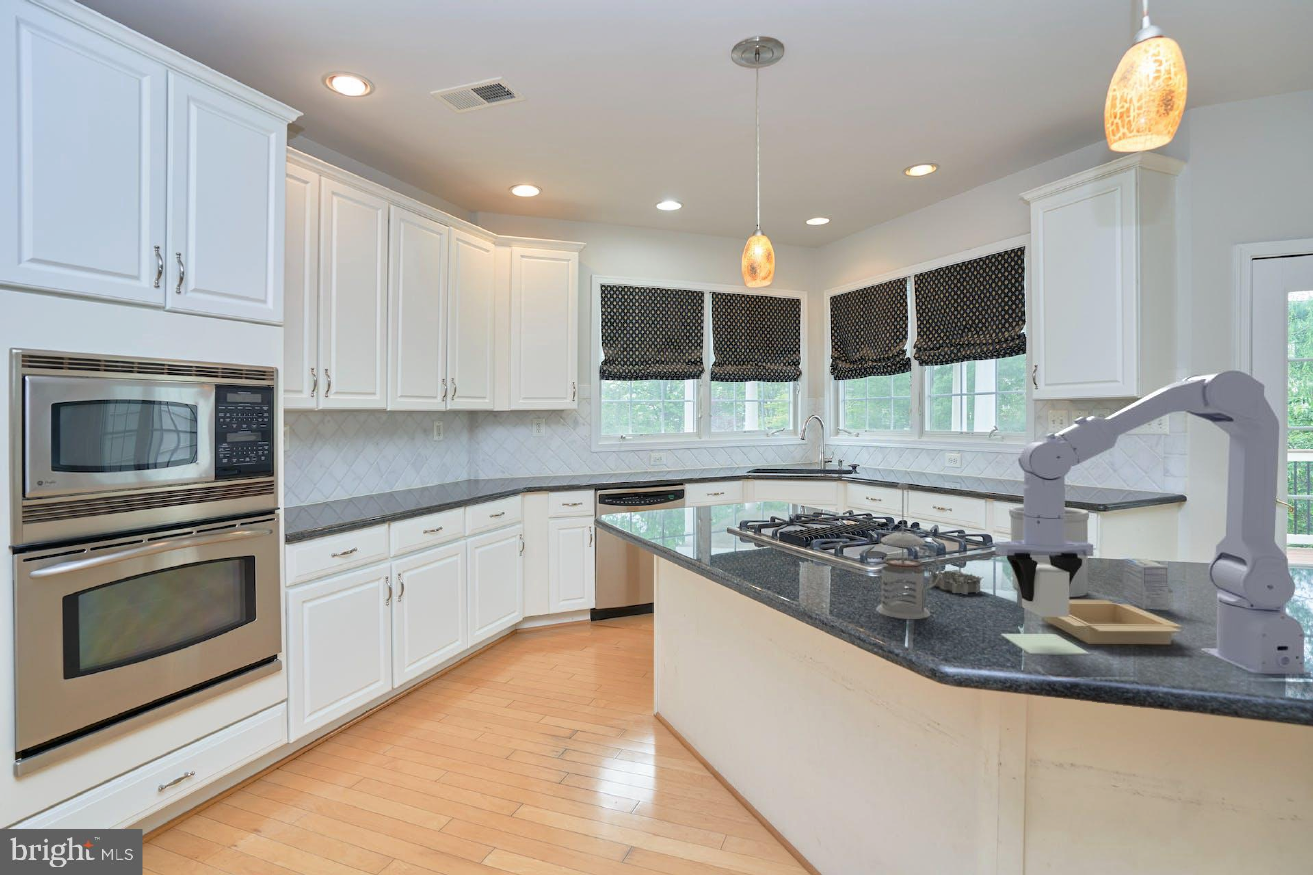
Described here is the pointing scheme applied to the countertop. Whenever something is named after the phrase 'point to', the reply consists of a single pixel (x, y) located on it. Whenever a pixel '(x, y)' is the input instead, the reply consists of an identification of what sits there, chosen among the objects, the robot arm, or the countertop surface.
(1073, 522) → the utensil holder
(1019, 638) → the mat
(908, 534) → the french press
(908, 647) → the countertop surface
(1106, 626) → the tan flat tray
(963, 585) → the egg carton
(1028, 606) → the grey box
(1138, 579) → the medicine box
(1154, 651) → the countertop surface
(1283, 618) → the robot arm
